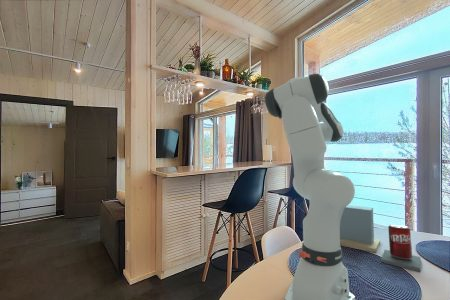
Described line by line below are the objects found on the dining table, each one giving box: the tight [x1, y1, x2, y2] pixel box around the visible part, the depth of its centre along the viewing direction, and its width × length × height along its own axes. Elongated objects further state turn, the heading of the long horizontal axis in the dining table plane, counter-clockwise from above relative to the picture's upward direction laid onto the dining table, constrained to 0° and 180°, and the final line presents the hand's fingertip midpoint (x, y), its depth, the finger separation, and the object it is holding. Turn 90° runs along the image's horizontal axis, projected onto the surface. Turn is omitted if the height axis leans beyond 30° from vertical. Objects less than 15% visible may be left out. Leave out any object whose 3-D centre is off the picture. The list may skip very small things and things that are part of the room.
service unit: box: [340, 204, 381, 253], centre depth 112 cm, size 14×18×18 cm
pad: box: [380, 249, 421, 272], centre depth 93 cm, size 12×12×1 cm
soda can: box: [387, 224, 413, 260], centre depth 94 cm, size 7×7×12 cm
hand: (310, 177), depth 107 cm, fingers open, 8 cm apart
